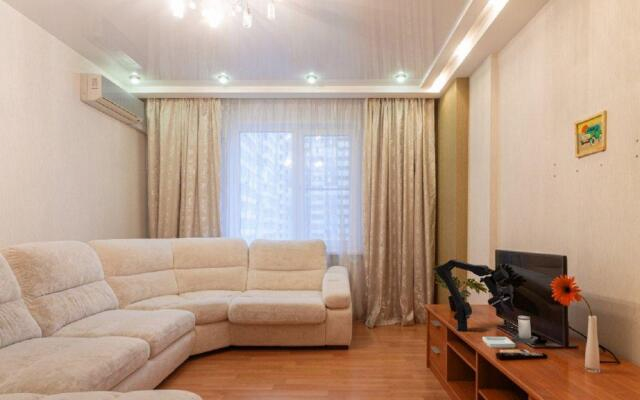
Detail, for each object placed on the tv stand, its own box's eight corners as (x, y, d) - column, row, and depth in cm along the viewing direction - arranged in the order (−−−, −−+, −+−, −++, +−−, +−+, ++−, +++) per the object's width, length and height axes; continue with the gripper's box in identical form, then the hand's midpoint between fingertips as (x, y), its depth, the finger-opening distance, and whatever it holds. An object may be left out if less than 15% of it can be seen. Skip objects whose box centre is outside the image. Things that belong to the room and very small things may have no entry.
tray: (482, 340, 203) (482, 336, 203) (506, 340, 202) (506, 336, 202) (490, 347, 191) (489, 343, 191) (515, 348, 190) (515, 343, 190)
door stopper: (503, 324, 234) (502, 304, 235) (514, 324, 233) (512, 304, 234) (507, 328, 226) (506, 307, 226) (518, 328, 224) (517, 307, 225)
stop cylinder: (517, 339, 203) (515, 315, 204) (528, 339, 202) (527, 315, 203) (521, 343, 198) (520, 318, 198) (533, 343, 197) (531, 318, 198)
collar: (512, 341, 200) (512, 337, 200) (518, 337, 207) (518, 333, 207) (531, 345, 193) (531, 341, 194) (537, 341, 200) (537, 337, 200)
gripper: (496, 281, 201) (515, 309, 193) (512, 277, 213) (530, 303, 205) (480, 291, 207) (497, 318, 200) (496, 286, 219) (512, 312, 212)
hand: (510, 313), depth 204 cm, fingers open, 9 cm apart
